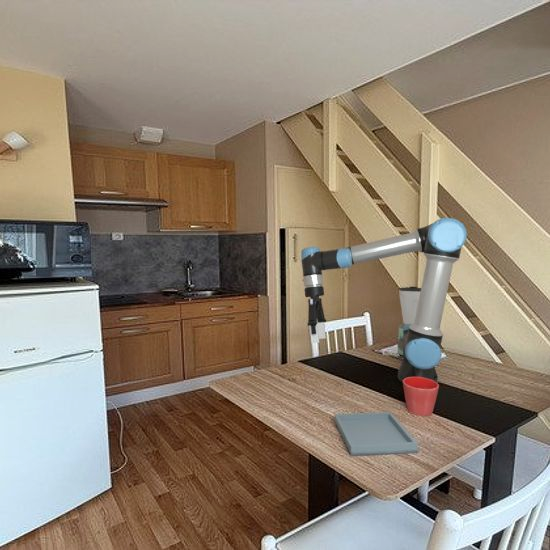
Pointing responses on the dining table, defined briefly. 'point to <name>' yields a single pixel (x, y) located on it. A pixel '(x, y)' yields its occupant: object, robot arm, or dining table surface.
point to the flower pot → (420, 395)
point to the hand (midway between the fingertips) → (319, 340)
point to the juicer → (407, 310)
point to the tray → (374, 434)
